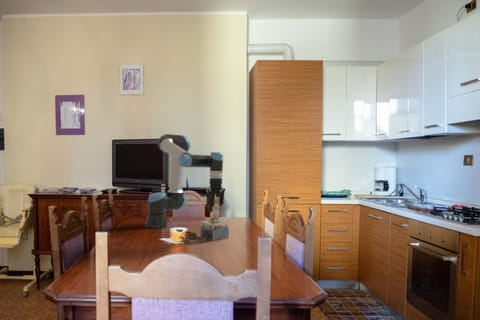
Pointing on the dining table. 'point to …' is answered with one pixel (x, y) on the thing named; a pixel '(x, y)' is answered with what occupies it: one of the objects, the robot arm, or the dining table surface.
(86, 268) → the dining table surface
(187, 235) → the stand
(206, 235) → the box
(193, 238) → the tray
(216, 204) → the stick
